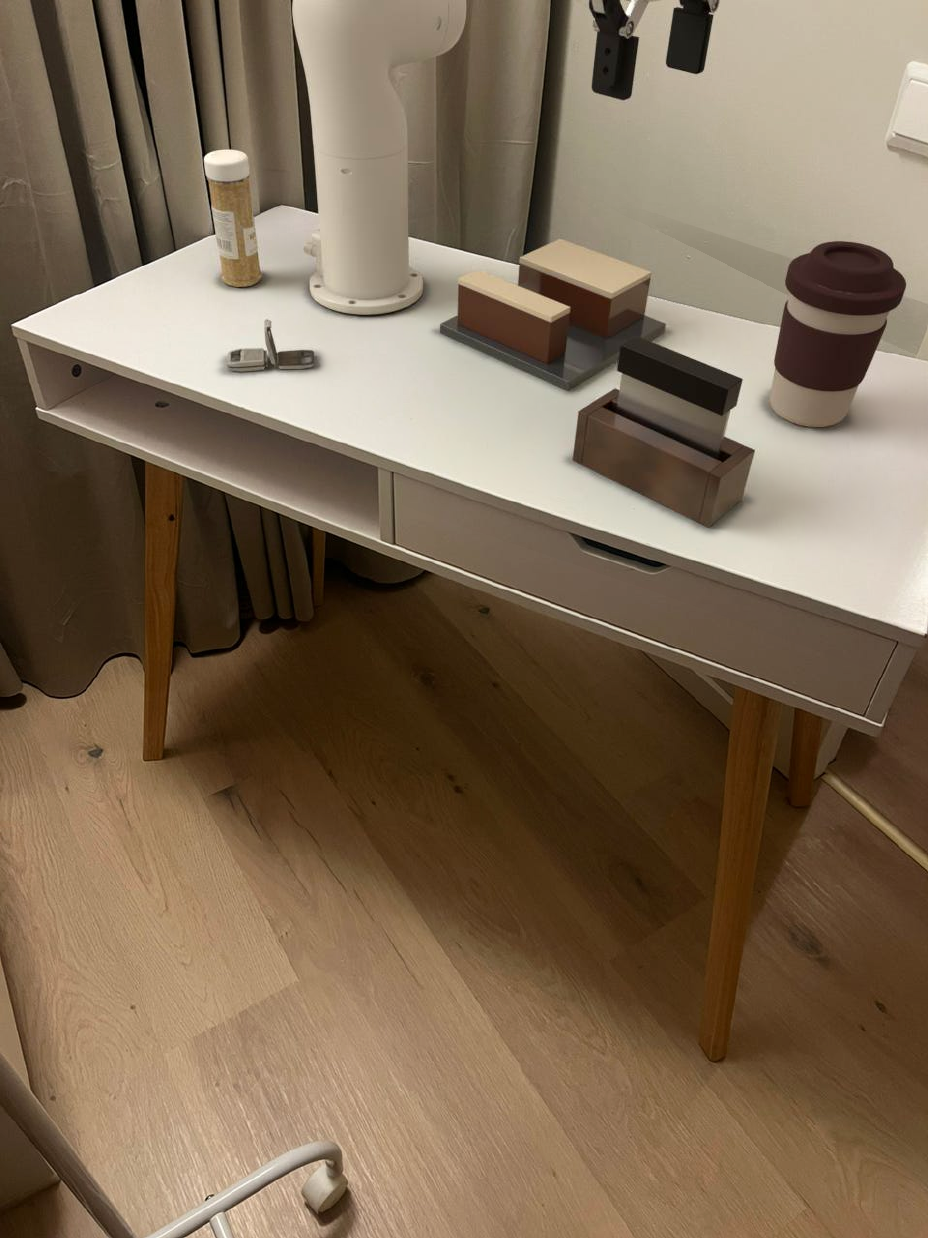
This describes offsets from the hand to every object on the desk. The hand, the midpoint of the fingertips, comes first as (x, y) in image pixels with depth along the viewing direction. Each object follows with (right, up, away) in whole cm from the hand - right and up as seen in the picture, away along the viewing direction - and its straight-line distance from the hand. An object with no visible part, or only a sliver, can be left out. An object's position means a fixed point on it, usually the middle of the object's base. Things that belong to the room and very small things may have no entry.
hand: (648, 82), depth 75 cm
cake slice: (-9, -12, +27) cm, 31 cm away
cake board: (-4, -10, +31) cm, 32 cm away
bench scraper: (+3, -28, +11) cm, 31 cm away
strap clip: (-33, -15, +24) cm, 44 cm away
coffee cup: (+19, -20, +21) cm, 35 cm away
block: (+3, -28, +11) cm, 31 cm away
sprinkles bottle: (-39, -2, +38) cm, 54 cm away
